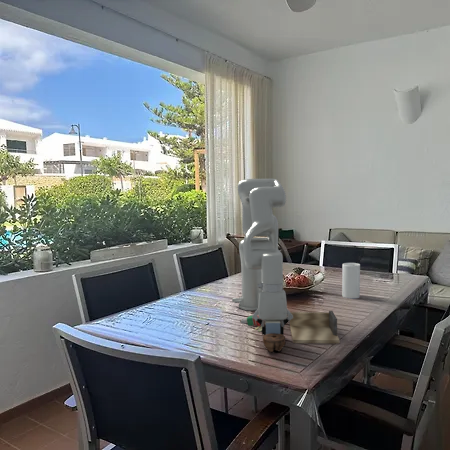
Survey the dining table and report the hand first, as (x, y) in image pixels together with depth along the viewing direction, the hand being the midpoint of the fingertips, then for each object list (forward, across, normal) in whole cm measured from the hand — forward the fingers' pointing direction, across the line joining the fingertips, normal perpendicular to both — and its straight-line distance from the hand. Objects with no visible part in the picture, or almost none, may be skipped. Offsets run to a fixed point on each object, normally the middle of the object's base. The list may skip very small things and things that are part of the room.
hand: (272, 335), depth 153 cm
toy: (+2, -6, +17) cm, 18 cm away
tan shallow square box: (+1, +15, +5) cm, 16 cm away
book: (+1, 0, 0) cm, 1 cm away
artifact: (+2, 0, -10) cm, 10 cm away
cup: (+2, +40, +59) cm, 71 cm away
